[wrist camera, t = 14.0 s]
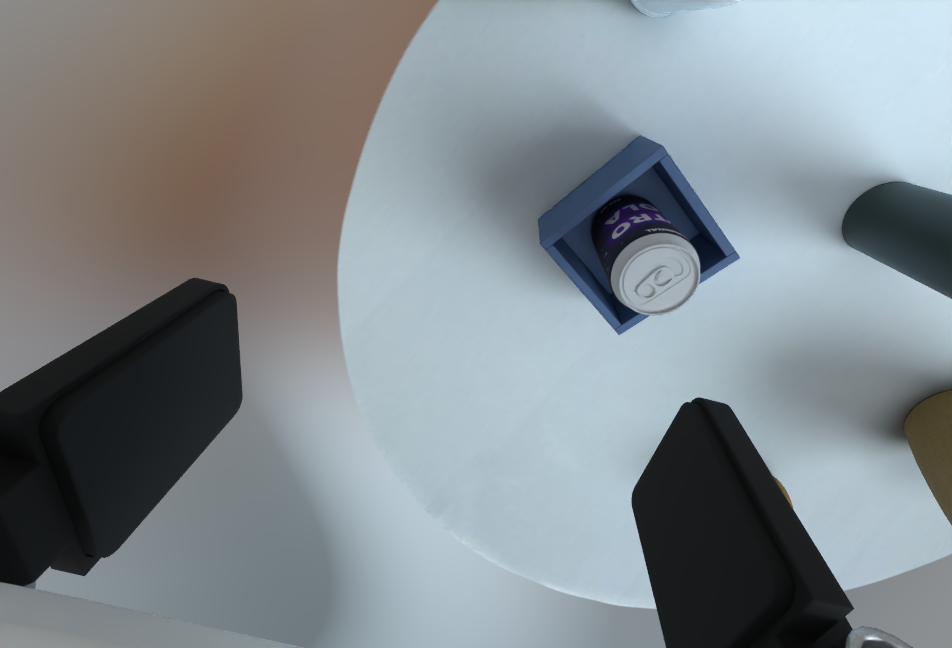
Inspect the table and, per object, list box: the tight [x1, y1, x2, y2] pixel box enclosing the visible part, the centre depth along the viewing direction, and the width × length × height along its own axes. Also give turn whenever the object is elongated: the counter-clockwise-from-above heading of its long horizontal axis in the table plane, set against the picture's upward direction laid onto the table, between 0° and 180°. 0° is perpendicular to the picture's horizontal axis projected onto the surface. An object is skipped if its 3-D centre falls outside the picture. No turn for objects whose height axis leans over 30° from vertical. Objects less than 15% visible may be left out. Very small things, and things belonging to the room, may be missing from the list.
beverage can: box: [591, 195, 700, 316], centre depth 33 cm, size 6×6×12 cm
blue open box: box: [538, 135, 740, 335], centre depth 36 cm, size 10×10×7 cm
